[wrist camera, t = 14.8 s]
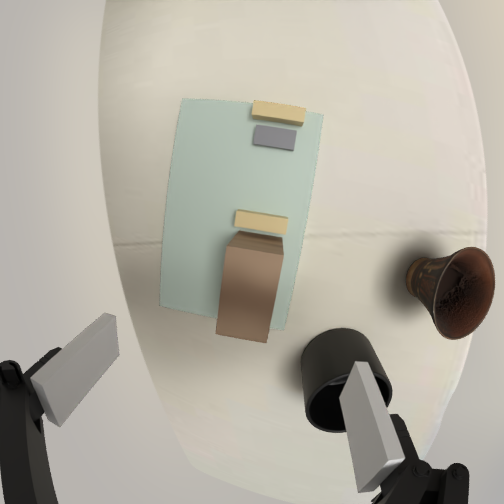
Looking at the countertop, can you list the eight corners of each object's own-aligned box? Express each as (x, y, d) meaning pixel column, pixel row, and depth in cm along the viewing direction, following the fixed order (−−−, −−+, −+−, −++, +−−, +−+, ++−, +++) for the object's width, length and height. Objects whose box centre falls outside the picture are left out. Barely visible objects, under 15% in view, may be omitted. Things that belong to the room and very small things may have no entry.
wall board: (185, 100, 27) (176, 93, 24) (322, 116, 26) (326, 109, 24) (162, 302, 33) (152, 312, 30) (283, 326, 32) (284, 339, 29)
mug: (296, 399, 35) (298, 447, 26) (303, 327, 32) (310, 373, 23) (360, 396, 34) (374, 441, 25) (377, 325, 31) (403, 367, 23)
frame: (237, 229, 29) (224, 245, 22) (282, 237, 29) (284, 255, 22) (228, 300, 31) (213, 333, 24) (269, 307, 31) (266, 343, 24)
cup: (457, 233, 28) (507, 252, 18) (445, 300, 30) (486, 335, 20) (399, 228, 28) (446, 248, 19) (389, 302, 31) (424, 344, 21)
